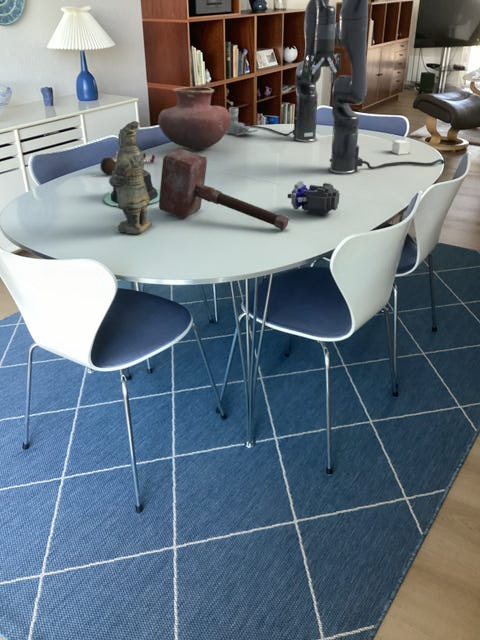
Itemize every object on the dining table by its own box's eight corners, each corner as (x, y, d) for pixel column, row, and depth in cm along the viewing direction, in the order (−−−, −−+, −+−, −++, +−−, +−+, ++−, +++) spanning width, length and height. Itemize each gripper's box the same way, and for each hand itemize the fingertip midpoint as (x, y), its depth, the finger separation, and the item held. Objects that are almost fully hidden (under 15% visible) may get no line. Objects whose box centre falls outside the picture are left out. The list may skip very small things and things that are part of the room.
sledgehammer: (299, 190, 156) (179, 147, 167) (285, 200, 148) (161, 154, 160) (286, 244, 166) (174, 200, 177) (272, 256, 158) (156, 209, 170)
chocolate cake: (91, 202, 180) (113, 186, 197) (142, 231, 182) (160, 212, 199) (107, 162, 172) (129, 148, 190) (160, 192, 174) (177, 176, 192)
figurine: (161, 151, 222) (115, 157, 203) (161, 170, 225) (116, 178, 206) (137, 147, 228) (90, 152, 209) (137, 166, 232) (91, 173, 212)
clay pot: (236, 141, 255) (235, 83, 242) (223, 158, 229) (221, 93, 216) (172, 140, 260) (168, 82, 247) (152, 156, 234) (146, 93, 221)
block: (401, 150, 235) (402, 139, 233) (408, 153, 231) (409, 142, 228) (391, 151, 234) (392, 140, 231) (398, 154, 229) (399, 143, 227)
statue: (131, 220, 168) (117, 116, 152) (158, 224, 164) (147, 118, 149) (109, 233, 159) (93, 124, 144) (138, 237, 156) (124, 126, 140)
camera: (234, 105, 269) (258, 109, 260) (235, 130, 275) (258, 135, 266) (222, 108, 263) (246, 112, 254) (223, 134, 269) (246, 138, 260)
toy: (295, 178, 172) (342, 184, 166) (295, 205, 177) (340, 211, 171) (285, 186, 166) (333, 192, 160) (284, 213, 170) (331, 220, 164)
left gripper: (360, 7, 257) (356, 46, 265) (332, 8, 253) (330, 47, 261) (368, 7, 251) (364, 47, 259) (339, 8, 247) (337, 48, 255)
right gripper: (337, 36, 215) (334, 81, 224) (303, 37, 212) (301, 83, 220) (346, 37, 209) (342, 83, 217) (311, 38, 206) (309, 85, 214)
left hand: (347, 47), depth 260 cm, fingers open, 8 cm apart
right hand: (322, 83), depth 219 cm, fingers open, 8 cm apart
